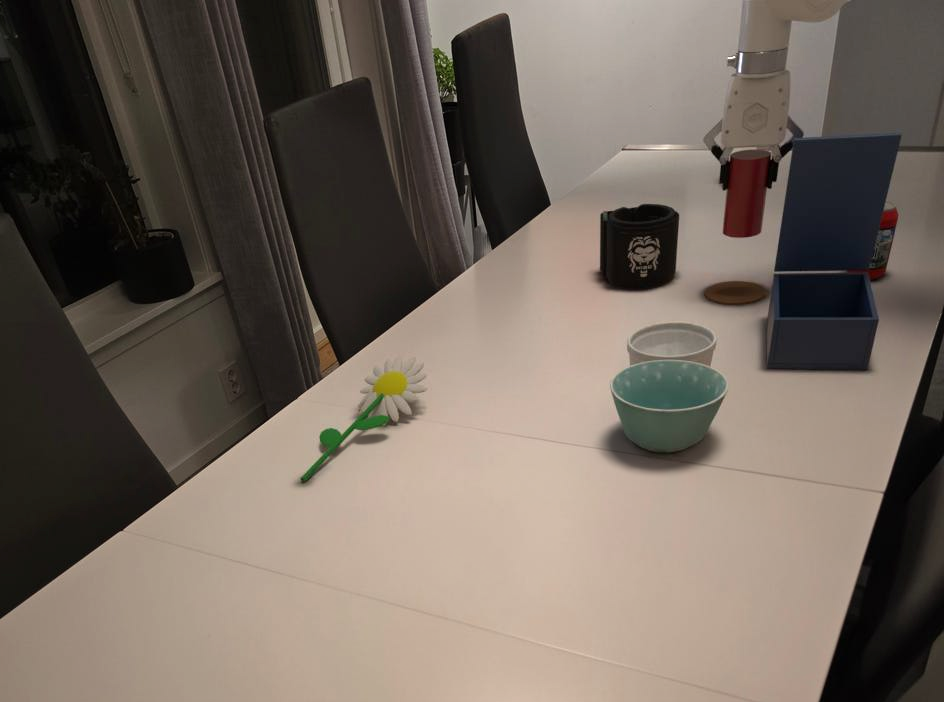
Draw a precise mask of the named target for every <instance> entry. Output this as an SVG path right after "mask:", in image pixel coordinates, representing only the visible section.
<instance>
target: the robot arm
mask: <svg viewBox="0 0 944 702" xmlns="http://www.w3.org/2000/svg"><path fill="white" fill-rule="evenodd" d="M851 1H852V0H742V3H741V4H742V5H741V15H740V25H739V35H738V45H737V52H735V54H733V55H729V56H727V60H726V61H727V62H726V66H727V67H731V68H733V69H735V72H734V73H732V74H731V75H730V77H729V80H728V85H727V89H726V94H725V99H724V107H723V113H722V118H721V119H720V120H719V121H718V122H717V123H716V124H715V125H714V126H713V127H712V128H711V129H710V130H709V131H708V132H707V133H706V134H705V135H704V136H703V138H702V142H703V143H704V145H705V146H706V147H707V149H708V150H709V151H710V152H711V155H713V156H714V157H715V159H716V160H717V161H718V163H719V164H720V169H719V180H718V185H722V191H727V183H728V174H729V162H730V161H729V156H730V154H731V152H732V150H733V149H734V148H745V147H757V148H762V147H763V148H764V147H769V149H770V152H771V161H770V168H769V176H768V184H767V190H772V188H773V183H777V181H778V176H779V175H778V174H779V165H780V162H781V161H782V159H783V158H785V156H786V155H788V153H790V151H792V149H793V142H794V138H804V136H805V133H804V130H803V129H802V128H801V127H800V126H799V125H798V124H797V122H796V121H795V120H794V119H793V118H792V117H791V116H790V115H789V113H790V112H789V111H790V102H791V101H790V98H791V71H790V70H789V69H786V68H787V61H788V60H787V59H788V52H789V46H790V39H791V38H790V37H791V30H792V22H793V21H794V22H803V23H822V22H824V21H825V22H826V21H827V20H829V19H831V18H832V17H834V16H835V15H836V14H837V13H838V12H840V10H841V8H842V7H843V6H844V5H845V4H847V3H848V2H851ZM787 130H788V131H789V132H790V133H791V136H790V137H789V139H788V140H787V141H785V142H784V140H785V139H786V134H787ZM719 134H720V142H721V143H720V144H721V145H722V146H723V147H724V148H721V147H720V145H719V144H717V142H716V141H715V138H716V137H717V136H718V135H719ZM783 142H784V143H783ZM782 143H783V144H782ZM781 144H782V145H781ZM780 145H781V147H780Z"/></svg>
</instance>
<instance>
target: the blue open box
mask: <svg viewBox="0 0 944 702" xmlns="http://www.w3.org/2000/svg"><path fill="white" fill-rule="evenodd" d="M771 282H772V284H771V290H770V297H769V305H768V311H767V317H766V369H788V370H849V371H850V370H851V371H852V370H853V371H867V370H869V365H870V361H871V355H872V351H873V348H874V343H875V339H876V334H877V330H878V327H879V321H880V318H879V314H878V309H877V305H876V300H875V296H874V291H873V287H872V284H871V280H870V279H869V275H868V272H863V273H848V272H795V273H794V272H793V273H791V272H789V273H786V272H784V273H782V272H780V273H773V276H772V281H771Z"/></svg>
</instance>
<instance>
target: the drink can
mask: <svg viewBox="0 0 944 702" xmlns="http://www.w3.org/2000/svg"><path fill="white" fill-rule="evenodd" d="M771 159H772V152H771V151H769V150H765V149H757V150H742V151H737V152H734V153H732V154H731V155H730V162H729V174H728V183H727V190H726V191H725V192H726V193H725V203H724V213H723V214H724V215H723V222H722V223H723V224H722V235H724V236H725V237H729V238H735V239H744V238H745V239H746V238H753V237H756V236H758V235H760V234H762V230H763V221H764V213H765V207H766V199H767V191H768V188H767V184H768V176H769V168H770V161H771Z"/></svg>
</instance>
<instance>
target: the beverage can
mask: <svg viewBox="0 0 944 702" xmlns="http://www.w3.org/2000/svg"><path fill="white" fill-rule="evenodd" d="M898 221H899V213H898V209H897V204H896V203H895V202H892V201H889V200H886V202H885V206H884V210H883V214H882V218H881V223H880V227H879V231H878V235H877V239H876V243H875V247H874V251H873V255H872V259H871V263H870V268H869V270H868V271H846V273H863V272H868V275H869V279H870V281H871V280H876V279H877V278H879V277H881V276H882V275H884V274H885V273H886V272H887V267H888V264H889V261H890V255H891V252H892V251H891V250H892V247H893V242H894V238H895V233H896V228H897V225H898Z"/></svg>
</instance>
